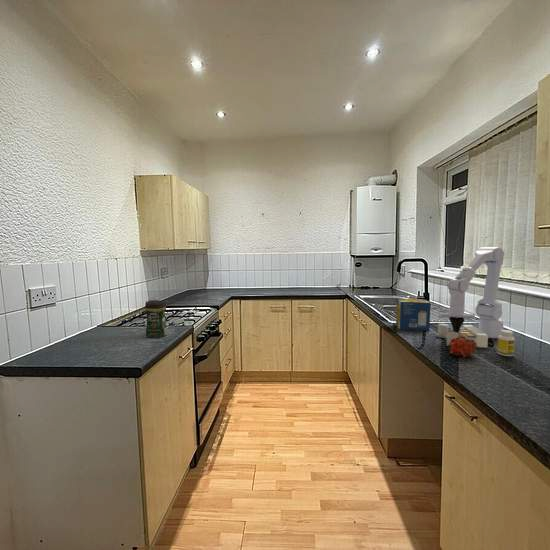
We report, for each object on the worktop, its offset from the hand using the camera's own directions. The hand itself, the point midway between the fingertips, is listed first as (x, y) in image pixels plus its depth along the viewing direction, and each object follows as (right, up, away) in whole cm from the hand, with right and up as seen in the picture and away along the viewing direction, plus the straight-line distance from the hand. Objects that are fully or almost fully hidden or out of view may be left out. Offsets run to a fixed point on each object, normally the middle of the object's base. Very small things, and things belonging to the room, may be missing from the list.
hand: (455, 333), depth 144 cm
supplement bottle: (+10, -6, -18) cm, 21 cm away
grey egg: (-5, -5, -6) cm, 9 cm away
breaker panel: (+7, -4, +1) cm, 8 cm away
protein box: (-9, -2, +25) cm, 27 cm away
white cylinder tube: (-2, -3, +8) cm, 9 cm away
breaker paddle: (+4, 0, -1) cm, 4 cm away
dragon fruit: (-9, -6, -19) cm, 22 cm away
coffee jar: (-145, -4, +13) cm, 146 cm away
